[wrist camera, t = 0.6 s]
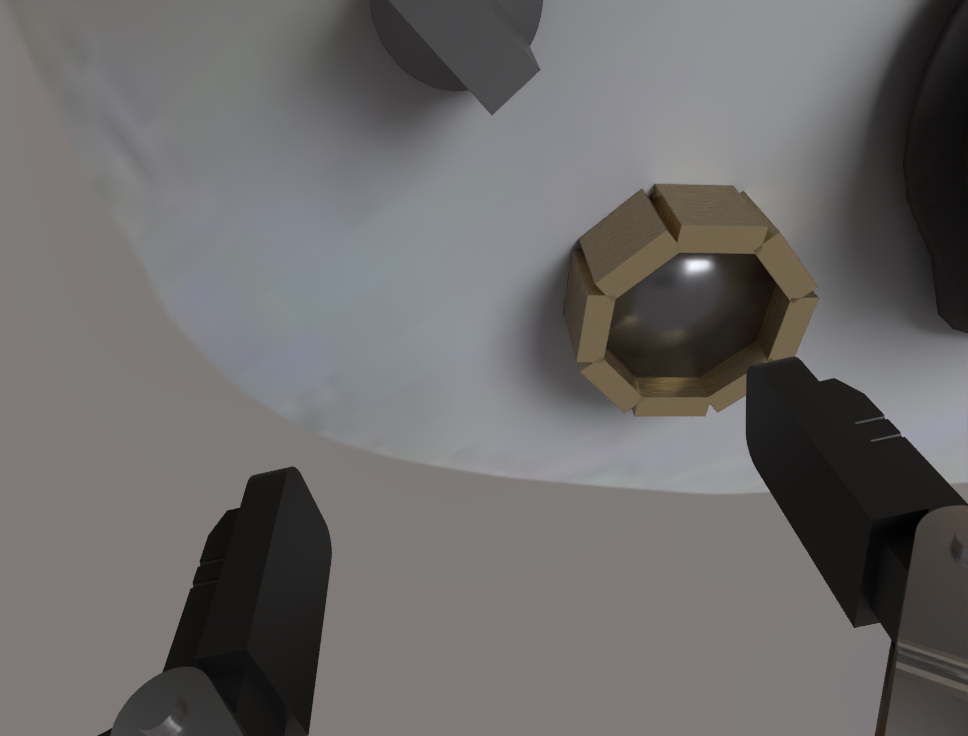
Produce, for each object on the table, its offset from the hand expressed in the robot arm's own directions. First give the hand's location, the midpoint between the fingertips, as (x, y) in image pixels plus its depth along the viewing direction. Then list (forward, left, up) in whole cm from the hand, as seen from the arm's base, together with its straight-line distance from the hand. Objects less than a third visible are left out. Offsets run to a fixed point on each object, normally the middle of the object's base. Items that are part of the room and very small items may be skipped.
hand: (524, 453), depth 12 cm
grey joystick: (-2, -4, -19) cm, 20 cm away
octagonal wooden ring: (-1, +12, -19) cm, 23 cm away
